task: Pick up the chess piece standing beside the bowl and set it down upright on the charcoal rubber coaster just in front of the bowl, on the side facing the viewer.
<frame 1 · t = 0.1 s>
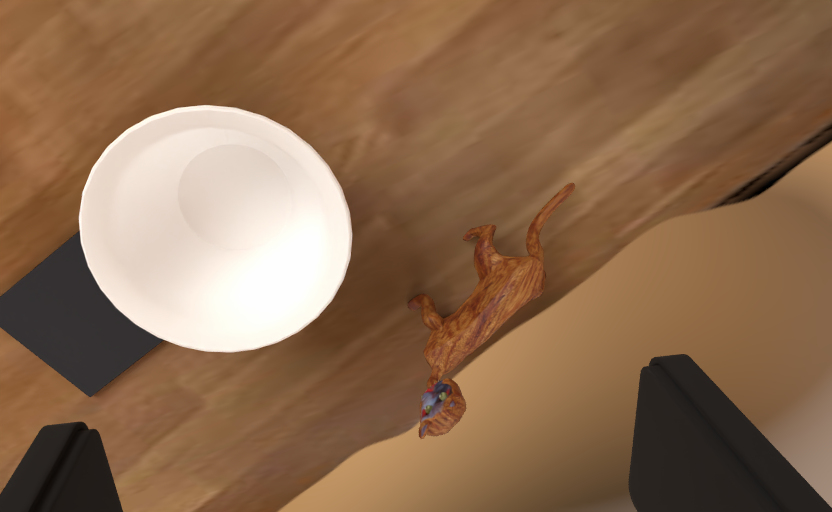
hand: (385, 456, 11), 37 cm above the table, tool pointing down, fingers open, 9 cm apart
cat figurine: (483, 259, 52), on the table
bowl: (237, 194, 47), on the table
coaster: (87, 315, 49), on the table
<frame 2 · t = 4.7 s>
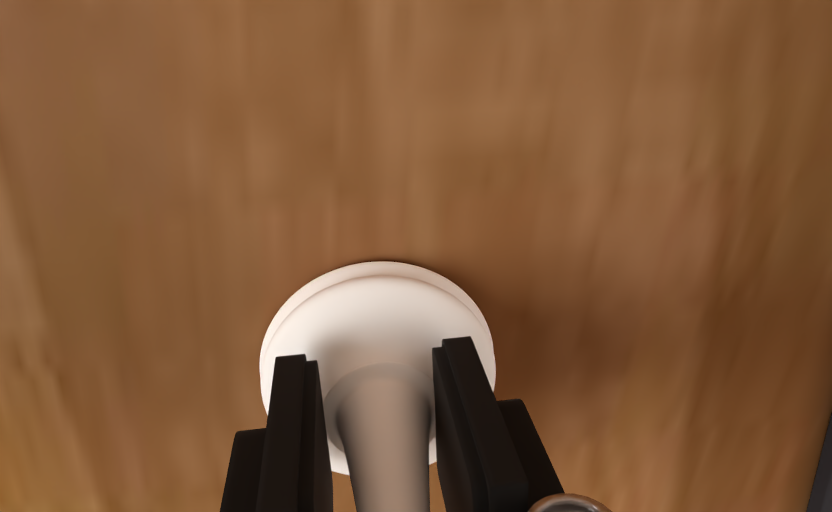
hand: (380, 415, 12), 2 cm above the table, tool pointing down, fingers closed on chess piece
chess piece: (378, 361, 14), on the table, touching gripper
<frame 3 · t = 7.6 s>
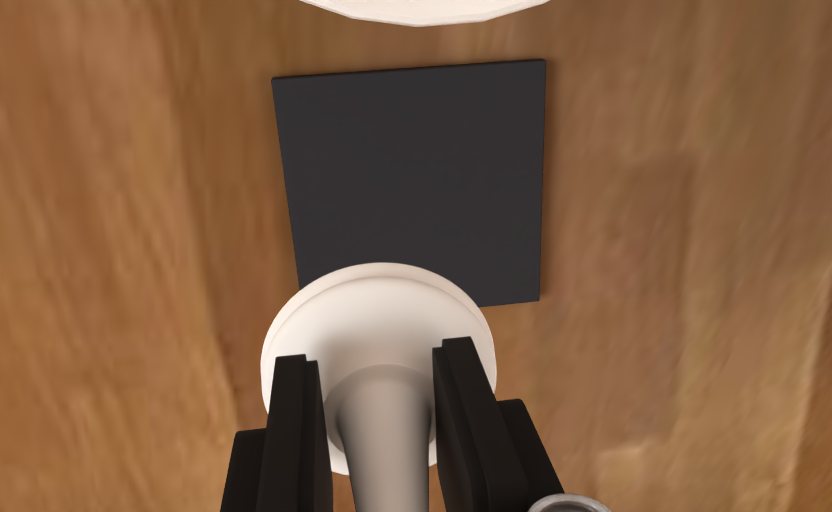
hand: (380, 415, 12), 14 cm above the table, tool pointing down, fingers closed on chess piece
chess piece: (379, 362, 14), point 13 cm above the table, touching gripper
coaster: (416, 197, 26), on the table
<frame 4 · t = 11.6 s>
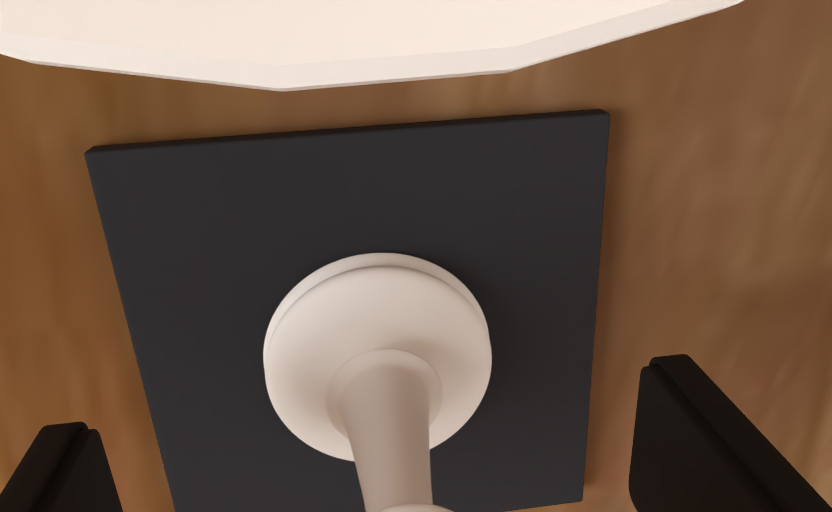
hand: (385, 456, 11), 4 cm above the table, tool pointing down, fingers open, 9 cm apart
chess piece: (377, 350, 15), resting on coaster
coaster: (374, 345, 15), on the table
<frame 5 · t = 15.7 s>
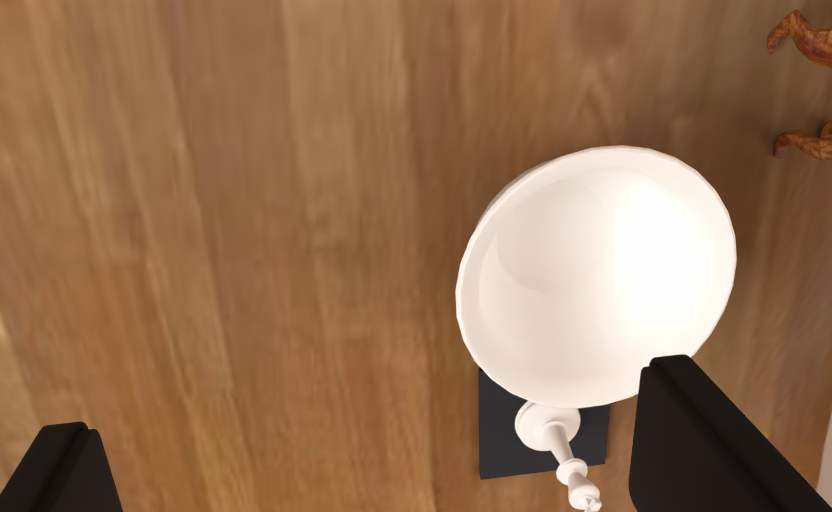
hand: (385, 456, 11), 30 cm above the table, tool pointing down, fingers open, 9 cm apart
chess piece: (545, 417, 50), resting on coaster
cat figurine: (805, 45, 41), on the table
bowl: (550, 231, 44), on the table
coaster: (543, 416, 50), on the table
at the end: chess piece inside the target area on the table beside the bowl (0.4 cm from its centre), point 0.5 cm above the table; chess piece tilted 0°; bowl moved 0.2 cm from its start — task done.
